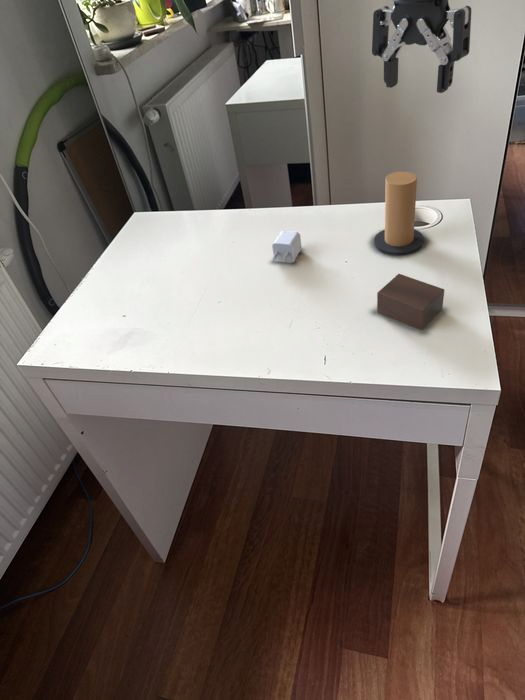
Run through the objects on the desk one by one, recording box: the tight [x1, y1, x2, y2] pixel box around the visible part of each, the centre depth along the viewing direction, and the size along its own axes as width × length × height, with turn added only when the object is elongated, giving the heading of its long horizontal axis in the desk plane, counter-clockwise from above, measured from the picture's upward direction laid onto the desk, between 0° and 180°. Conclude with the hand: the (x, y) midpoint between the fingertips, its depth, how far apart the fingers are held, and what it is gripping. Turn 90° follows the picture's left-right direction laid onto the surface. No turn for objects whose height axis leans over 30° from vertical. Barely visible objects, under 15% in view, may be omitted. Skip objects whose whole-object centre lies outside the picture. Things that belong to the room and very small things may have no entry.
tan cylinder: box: [384, 170, 418, 247], centre depth 93 cm, size 12×5×12 cm
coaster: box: [373, 228, 425, 256], centre depth 97 cm, size 9×9×1 cm
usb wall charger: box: [271, 230, 302, 264], centre depth 97 cm, size 4×7×4 cm, turn 158°
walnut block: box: [376, 273, 445, 331], centre depth 81 cm, size 6×8×4 cm
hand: (416, 88), depth 79 cm, fingers open, 8 cm apart
